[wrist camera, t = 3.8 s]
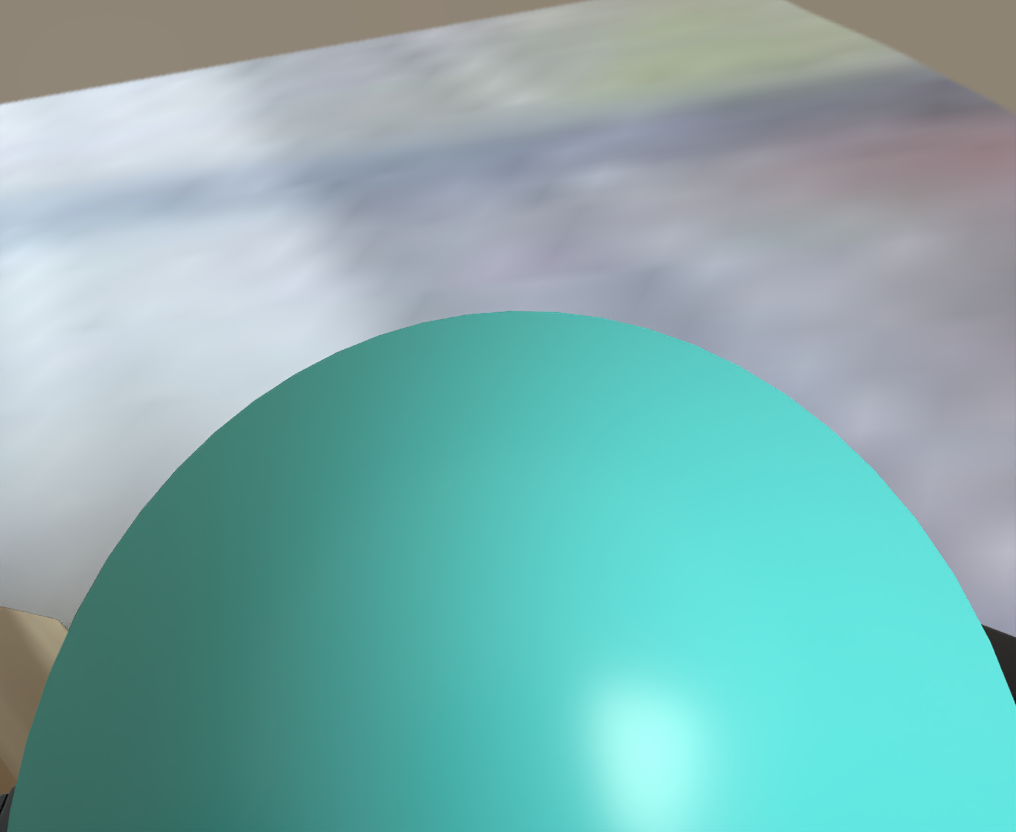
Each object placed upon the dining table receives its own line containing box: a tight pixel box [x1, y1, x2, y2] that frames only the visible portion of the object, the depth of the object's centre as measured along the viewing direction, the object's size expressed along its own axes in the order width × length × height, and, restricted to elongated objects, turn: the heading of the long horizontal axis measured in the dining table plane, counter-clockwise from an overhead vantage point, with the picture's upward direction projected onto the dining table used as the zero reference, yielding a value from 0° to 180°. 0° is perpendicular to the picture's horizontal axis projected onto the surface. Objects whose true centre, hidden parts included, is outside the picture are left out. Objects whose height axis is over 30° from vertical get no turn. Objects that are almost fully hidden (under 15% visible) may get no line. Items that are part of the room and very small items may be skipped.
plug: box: [7, 311, 1016, 832], centre depth 8 cm, size 4×4×13 cm
